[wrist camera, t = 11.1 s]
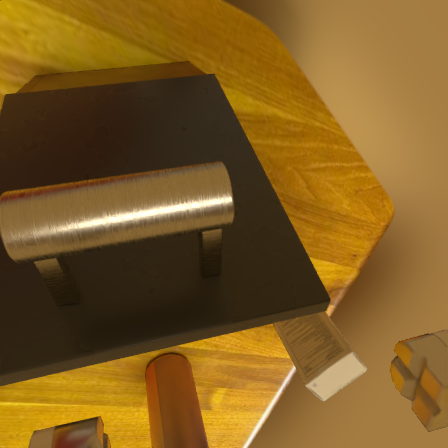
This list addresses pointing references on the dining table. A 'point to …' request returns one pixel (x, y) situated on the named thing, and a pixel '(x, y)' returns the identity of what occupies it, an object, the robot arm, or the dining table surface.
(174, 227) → the bin lid
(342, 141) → the dining table surface
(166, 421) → the beverage can
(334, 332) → the cosmetic box
